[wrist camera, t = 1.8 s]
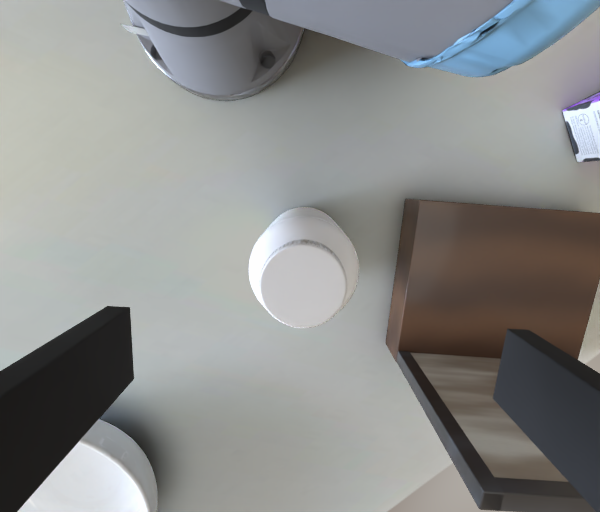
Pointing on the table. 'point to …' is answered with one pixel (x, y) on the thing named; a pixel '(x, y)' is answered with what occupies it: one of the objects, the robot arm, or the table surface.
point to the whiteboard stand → (490, 331)
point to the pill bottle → (303, 268)
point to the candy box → (585, 128)
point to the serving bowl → (99, 477)
